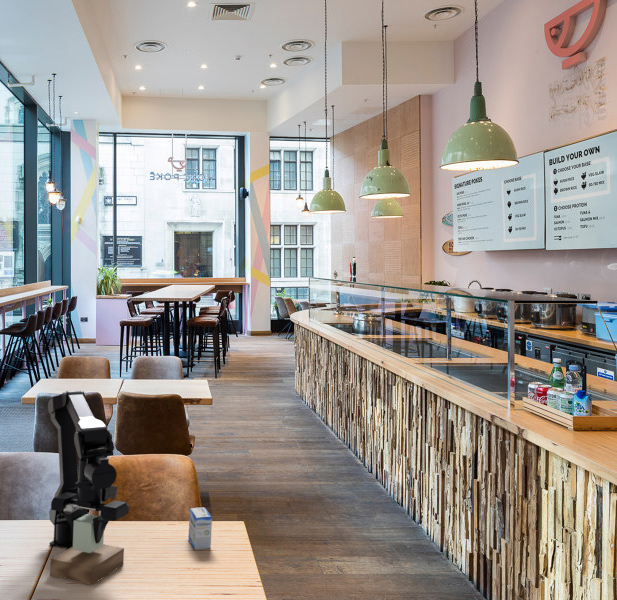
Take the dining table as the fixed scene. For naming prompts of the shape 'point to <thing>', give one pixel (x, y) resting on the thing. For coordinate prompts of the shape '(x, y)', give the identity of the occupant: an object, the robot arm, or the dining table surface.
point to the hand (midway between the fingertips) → (88, 541)
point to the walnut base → (86, 564)
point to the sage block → (85, 534)
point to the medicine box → (200, 528)
